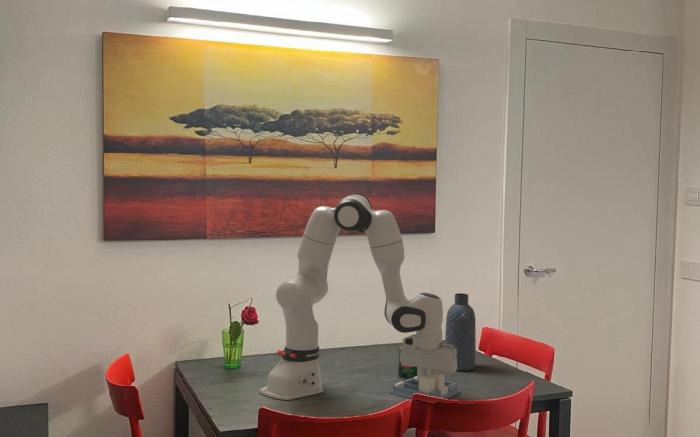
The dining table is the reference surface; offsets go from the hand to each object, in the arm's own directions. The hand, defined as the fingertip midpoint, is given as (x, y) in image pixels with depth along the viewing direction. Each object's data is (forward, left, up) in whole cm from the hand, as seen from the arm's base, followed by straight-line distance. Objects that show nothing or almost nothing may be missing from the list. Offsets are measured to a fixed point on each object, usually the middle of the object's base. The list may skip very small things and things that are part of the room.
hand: (427, 381), depth 264 cm
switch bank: (0, +1, -4) cm, 4 cm away
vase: (+36, +9, -4) cm, 38 cm away
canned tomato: (+12, +16, -4) cm, 21 cm away
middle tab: (0, -4, -3) cm, 5 cm away
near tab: (-6, -3, -3) cm, 7 cm away
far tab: (+5, +5, -3) cm, 8 cm away
